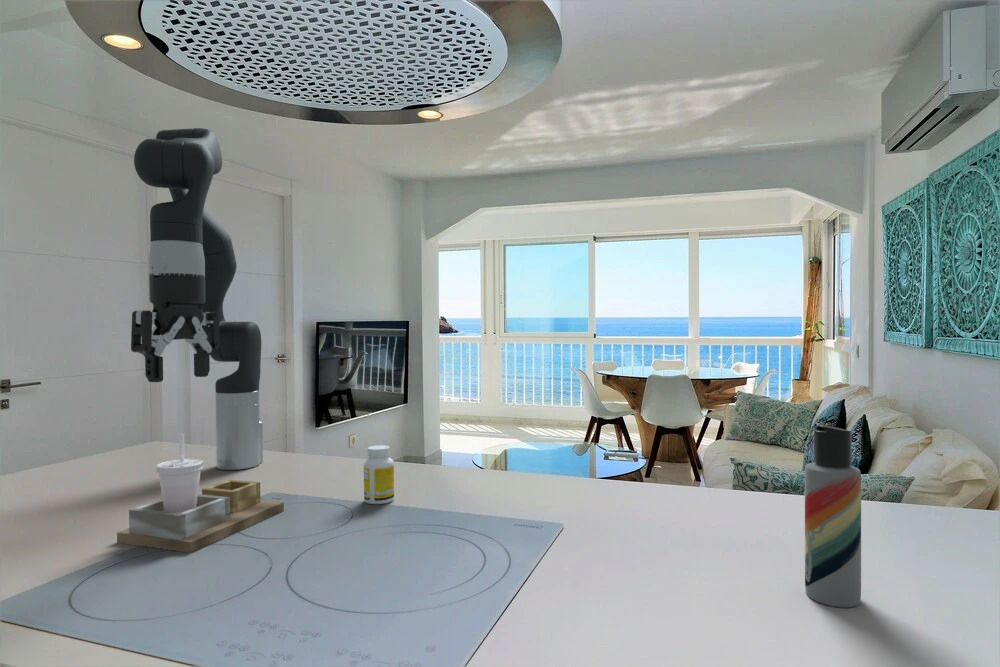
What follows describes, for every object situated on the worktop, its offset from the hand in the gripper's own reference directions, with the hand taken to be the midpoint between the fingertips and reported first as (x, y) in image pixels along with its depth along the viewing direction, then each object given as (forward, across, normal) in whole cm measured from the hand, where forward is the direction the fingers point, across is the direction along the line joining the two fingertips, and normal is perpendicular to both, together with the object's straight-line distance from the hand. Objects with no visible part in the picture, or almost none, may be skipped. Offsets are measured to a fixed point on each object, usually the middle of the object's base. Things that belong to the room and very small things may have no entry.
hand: (179, 379), depth 91 cm
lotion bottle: (+24, -6, +90) cm, 93 cm away
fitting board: (+24, -5, 0) cm, 25 cm away
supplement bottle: (+24, -25, +20) cm, 40 cm away
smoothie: (+23, 0, 0) cm, 23 cm away
